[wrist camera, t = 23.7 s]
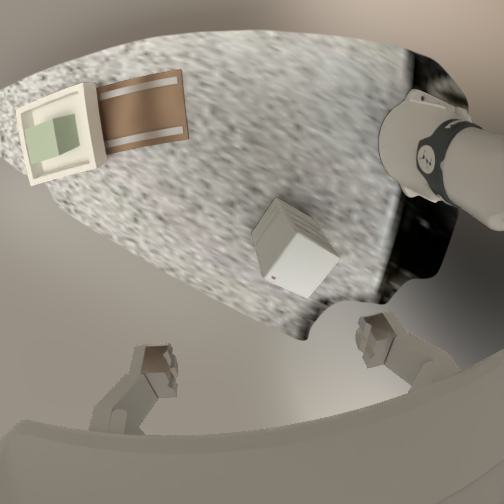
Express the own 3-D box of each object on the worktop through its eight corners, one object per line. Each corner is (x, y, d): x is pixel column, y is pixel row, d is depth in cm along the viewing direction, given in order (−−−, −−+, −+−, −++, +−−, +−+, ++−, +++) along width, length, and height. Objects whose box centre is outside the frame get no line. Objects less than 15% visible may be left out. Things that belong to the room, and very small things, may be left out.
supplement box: (287, 253, 49) (307, 301, 38) (249, 232, 47) (260, 279, 36) (313, 217, 46) (342, 259, 36) (276, 194, 44) (297, 231, 33)
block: (74, 113, 30) (52, 118, 25) (80, 145, 32) (59, 155, 27) (48, 123, 29) (24, 130, 24) (53, 153, 32) (31, 164, 27)
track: (181, 69, 33) (180, 68, 32) (188, 138, 38) (187, 139, 37) (43, 107, 32) (39, 108, 30) (54, 167, 37) (50, 170, 36)
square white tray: (100, 83, 31) (82, 82, 26) (112, 157, 36) (96, 168, 31) (38, 105, 30) (15, 110, 25) (50, 173, 36) (30, 186, 30)
